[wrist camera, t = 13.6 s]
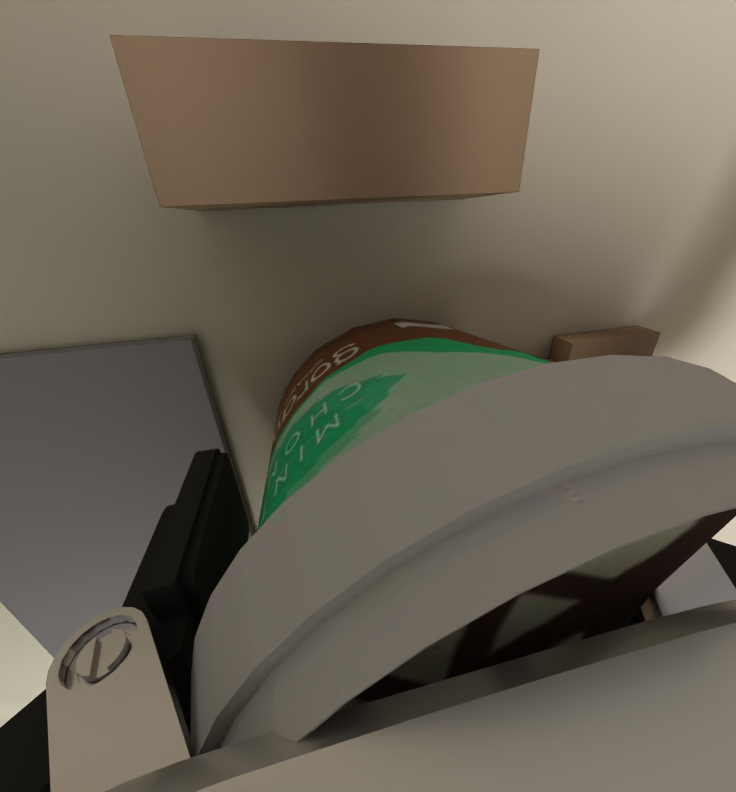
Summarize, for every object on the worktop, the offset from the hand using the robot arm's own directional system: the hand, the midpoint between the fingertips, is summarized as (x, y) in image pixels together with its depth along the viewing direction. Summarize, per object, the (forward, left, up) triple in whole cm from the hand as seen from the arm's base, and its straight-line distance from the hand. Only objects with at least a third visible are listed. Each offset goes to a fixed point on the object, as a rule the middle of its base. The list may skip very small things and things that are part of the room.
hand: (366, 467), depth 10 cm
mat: (-10, -4, -4) cm, 11 cm away
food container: (-1, 0, -4) cm, 4 cm away
